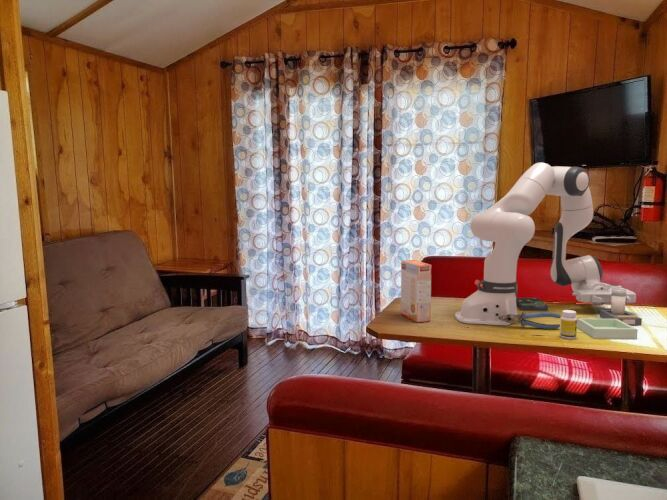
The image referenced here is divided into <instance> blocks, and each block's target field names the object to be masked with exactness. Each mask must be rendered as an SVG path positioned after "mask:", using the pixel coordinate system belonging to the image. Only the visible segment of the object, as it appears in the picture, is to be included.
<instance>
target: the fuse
mask: <svg viewBox="0 0 667 500" xmlns="http://www.w3.org/2000/svg"><path fill="white" fill-rule="evenodd" d="M625 289H626V288H624V289H618V288H614V289H612V293H611V295H612V298H611V303H610V310H611V313H610V314H612V315H625V311H626V303H625V301H626V291H627V290H625Z"/></svg>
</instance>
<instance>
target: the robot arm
mask: <svg viewBox="0 0 667 500" xmlns="http://www.w3.org/2000/svg"><path fill="white" fill-rule="evenodd" d="M589 185H590V176H589V174H588V172H587V171H586V169H585V168H583V167H579V166H561V165H560V166H559V165H558V166H557V165H555V166H551V165H550V164H549V163H545V162H543V161H542V162H536V163H534V164H533V165H532V166H530V167H529V168H528V169H527V170H526V171H525V172H524V173H523V174H522V175H521V176H520V177H519V178H518V180H517V181H516V182H515V183H514V185H513V186H512V187H511V188H510V190H508V192H507V193H506V194H505V195H504V196H503V197H502V198H500V199H499V200H498V201H497V202H496V203H494V204H493V205H492V206H490V207H489V208H486V209H485V210H483V211H481V212H479V213H477V214H475V215H474V216H473V217H472V220H471V222H470V231H471V233H472V235H473V236H474V237H476V238H478V239H480V240H483V241H485V242H492V243H493V242H494V247H493V250H492V252H491V253H489V254H488V255H486V257H485V259H484V265H483V266H484V267H483V279H482V280H479V279H475V281H474V284H475V285H476V286H477V290H476V291H475V292H473V293H471V294H470V295H469V296H467V297H466V298H464V299H463V302H462V304H461V307H460V310H459V311H456V312H455V314H454V318H455V319H456V320H457V321H458V322H460V323H464V324H473V325H493V326H509V325H511V324H512V323H507V322H504V321H502V320H499V319H498V318H499V316H502V315H507V314H515V315H519V313H518V307H517V305H516V297H518V296H517V294H518V281H517V267H518V260H519V256H520V254H521V251H522V249H523V248H524V246H525V245H526V244H527V243H529V242H530V241H531V240H532V239H533V237H534V235H535V231H536V226H535V222H534V220H533V218H532V217H531V216H529V215H530V214H532V213H533V212H534V211H535V210H536V208H537V207H538V206H539V204H540V203H541V202H542V201H543V199H544V198H545V197H546V195H549V196H557V197H560V208H561V215H560V218H559V220H558V222H557V223H556V224H555V225H554V229H553V238H552V239H553V240H552V241H553V242H552V255H551V256H552V257H551V265H550V277H551V280H552V282H553V283H555V284H556V285H558V286H560V287H566V286H569V285H571V289H572V291H573V292H572V296H574V297H575V299H576V301H578V302H579V303H586V304H587V303H590V304H593V305H595V306H603V305H607V304H611V298H612V295H611V293H612V289H614V288H618V289H625V290H627V291H626V301H625V304H634V303H636V301H637V293H636V292H634V291H632V290H630V289H628V288H624V287H623V286H622V285H619V284H610V283H605V282H601V281H602V279H603V268H602V265H601V263H600V261H599V260H598V259H597V258H595V257H594V256H592V255H591V254H588V255H584V256H577V257H575V258H571V259H566V257H567V244H568V241H569V240H570V239H571V237H573V236H574V235H575V234H577V233H578V232H580V231H582V230H584V229H585V228H586V227H588V225H589V224H590V223H591V222H592V220H593V219H594V205H593V197H592V193H591V190H590V187H589ZM503 319H505V318H503Z"/></svg>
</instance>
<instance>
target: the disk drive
mask: <svg viewBox="0 0 667 500" xmlns="http://www.w3.org/2000/svg"><path fill="white" fill-rule="evenodd" d="M516 305H517V309H519V310H520V311H521V312H522V311H524V312H526V311H527V312H528V311H529V312H549V306H548V304H547V303H545V302H544V301H542V300H541V299H540V298H538V297H518V296H516Z"/></svg>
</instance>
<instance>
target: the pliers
mask: <svg viewBox="0 0 667 500" xmlns="http://www.w3.org/2000/svg"><path fill="white" fill-rule="evenodd" d="M561 317H562V316H561V314H560V313H556V312H550V311H537V312H531V313H527V312H526V311H521V314H518V315H515V314H507V315H502V316H499V318H498V319H499V320H502V321H504V322H507V323H511V324H515V323H516V324H517V325H518V324H520V326H521V328H524V327H526V326H530V327H532V328H536V329H537V328H538V329H541V330H542V329H544V330H553V329H560V324H557V323H556V324H548V323H547V324H546V323H541V322H537V321H531V319H537V318H554V319H561ZM503 318H505V319H503ZM529 319H530V320H529Z"/></svg>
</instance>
